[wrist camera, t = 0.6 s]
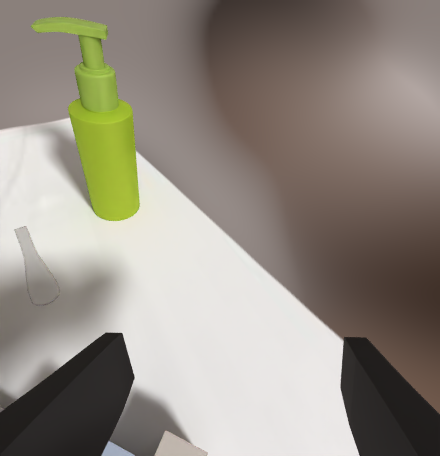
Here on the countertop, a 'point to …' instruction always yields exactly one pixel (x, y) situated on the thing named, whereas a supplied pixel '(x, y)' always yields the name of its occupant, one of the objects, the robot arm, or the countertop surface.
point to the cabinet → (177, 447)
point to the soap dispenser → (100, 123)
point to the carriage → (115, 450)
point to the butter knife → (36, 272)
